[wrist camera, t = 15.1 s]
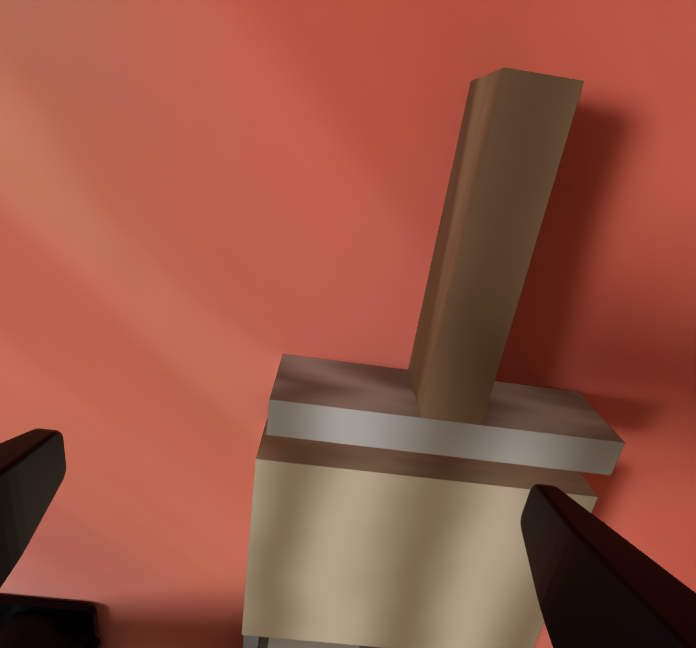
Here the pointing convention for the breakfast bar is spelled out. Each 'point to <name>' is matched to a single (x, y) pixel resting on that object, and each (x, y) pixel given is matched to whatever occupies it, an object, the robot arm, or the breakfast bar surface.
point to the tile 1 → (304, 644)
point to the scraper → (467, 311)
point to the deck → (392, 547)
